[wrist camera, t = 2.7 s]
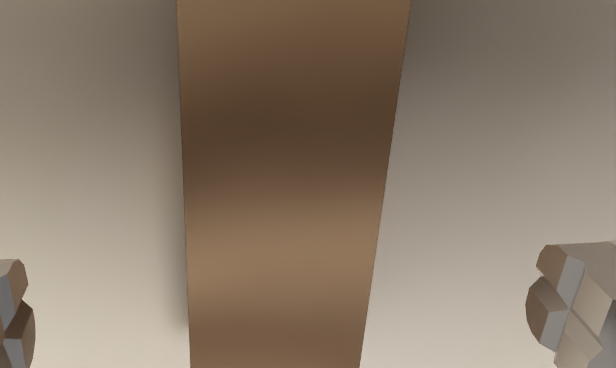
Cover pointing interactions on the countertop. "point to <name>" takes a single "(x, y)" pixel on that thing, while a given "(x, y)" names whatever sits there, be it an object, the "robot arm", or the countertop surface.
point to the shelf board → (284, 173)
